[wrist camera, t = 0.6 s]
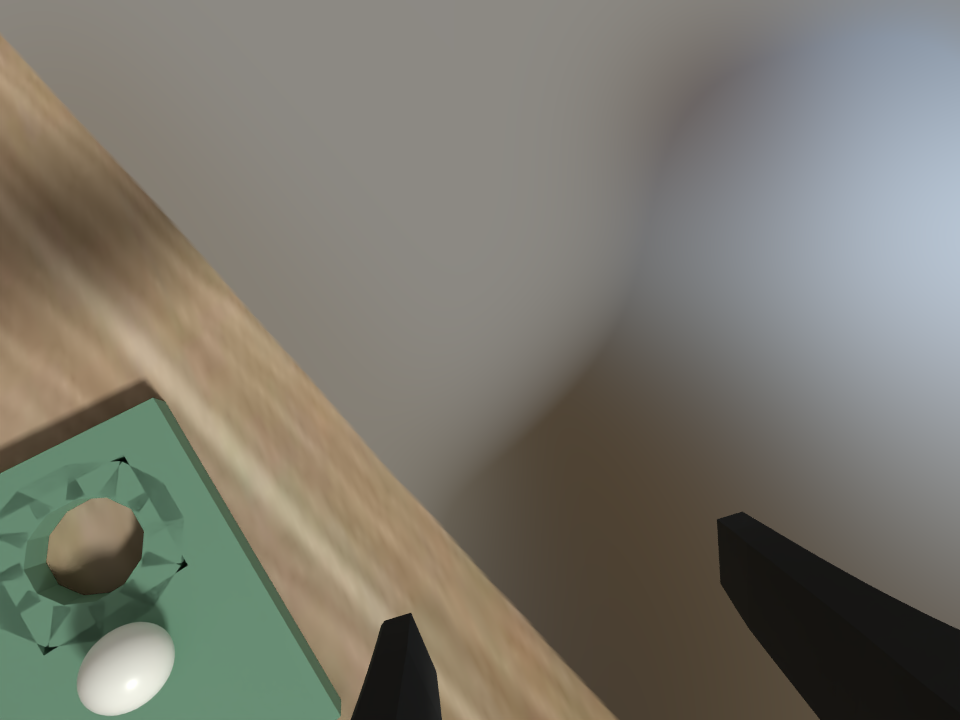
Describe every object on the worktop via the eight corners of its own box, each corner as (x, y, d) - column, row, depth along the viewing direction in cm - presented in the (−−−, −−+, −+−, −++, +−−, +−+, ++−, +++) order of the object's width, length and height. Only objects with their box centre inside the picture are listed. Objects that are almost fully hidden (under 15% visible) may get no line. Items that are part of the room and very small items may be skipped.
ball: (155, 705, 26) (122, 747, 22) (83, 675, 25) (36, 713, 21) (200, 629, 27) (176, 657, 23) (133, 599, 26) (97, 622, 22)
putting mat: (341, 700, 30) (340, 716, 28) (121, 876, 25) (103, 909, 23) (165, 401, 30) (153, 397, 29) (-77, 523, 26) (-110, 527, 24)
